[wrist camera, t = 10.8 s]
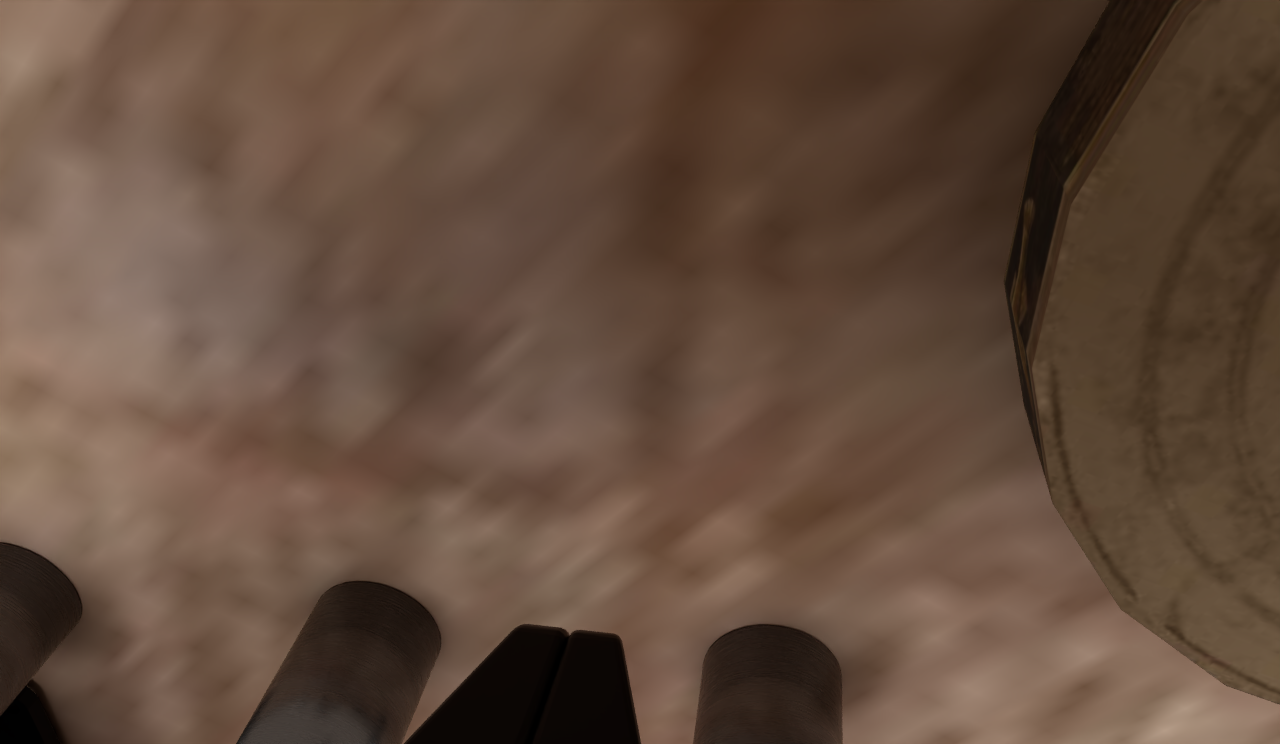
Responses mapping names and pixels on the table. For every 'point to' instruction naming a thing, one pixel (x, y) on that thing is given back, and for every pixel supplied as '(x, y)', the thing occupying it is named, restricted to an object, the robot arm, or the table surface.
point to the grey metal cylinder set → (430, 667)
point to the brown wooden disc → (1163, 321)
